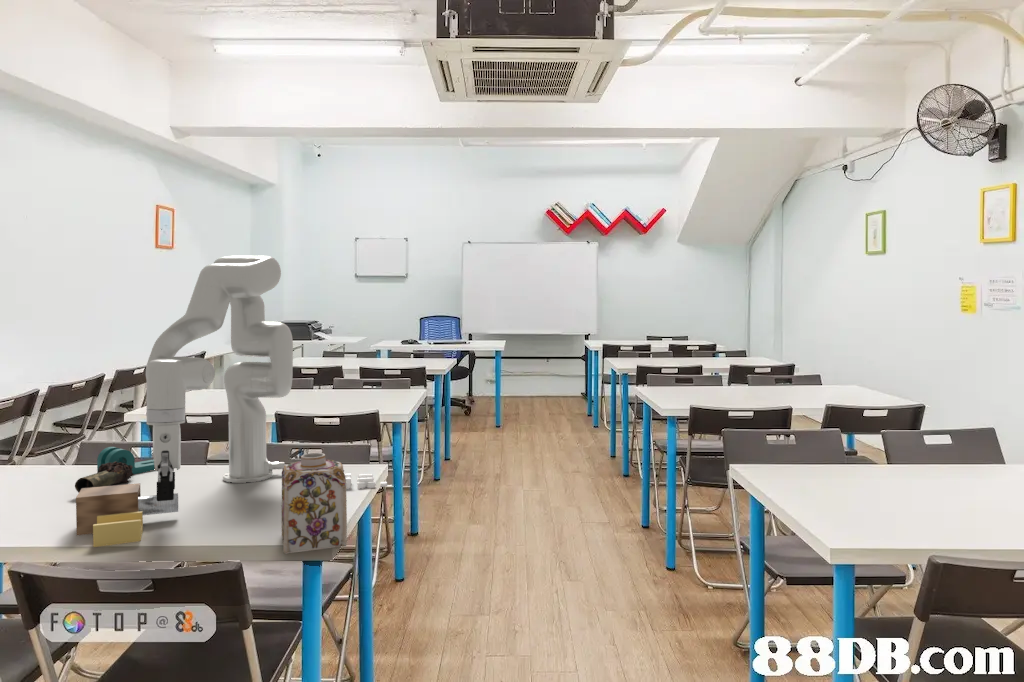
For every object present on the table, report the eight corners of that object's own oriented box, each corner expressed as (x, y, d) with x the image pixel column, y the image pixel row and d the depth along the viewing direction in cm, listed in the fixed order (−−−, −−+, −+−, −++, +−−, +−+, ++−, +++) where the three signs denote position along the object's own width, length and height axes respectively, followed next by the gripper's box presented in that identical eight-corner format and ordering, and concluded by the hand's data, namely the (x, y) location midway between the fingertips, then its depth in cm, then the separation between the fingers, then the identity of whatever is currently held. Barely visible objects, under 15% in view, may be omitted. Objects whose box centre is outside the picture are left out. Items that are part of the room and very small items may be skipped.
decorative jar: (347, 551, 132) (347, 458, 131) (283, 558, 128) (283, 463, 127) (340, 532, 143) (339, 446, 142) (281, 538, 139) (280, 450, 138)
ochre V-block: (142, 532, 142) (142, 511, 142) (140, 543, 136) (140, 520, 135) (98, 537, 139) (97, 515, 138) (93, 548, 132) (93, 525, 132)
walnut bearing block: (140, 519, 151) (140, 483, 151) (138, 529, 144) (137, 492, 143) (82, 525, 146) (81, 488, 146) (76, 536, 139) (75, 497, 139)
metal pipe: (93, 496, 167) (94, 473, 167) (67, 495, 167) (67, 472, 167) (137, 480, 185) (137, 459, 185) (113, 479, 185) (113, 458, 185)
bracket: (109, 480, 185) (108, 451, 185) (97, 477, 189) (96, 448, 189) (174, 468, 200) (174, 441, 200) (162, 465, 204) (161, 439, 204)
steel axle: (178, 507, 152) (178, 490, 152) (178, 514, 149) (177, 497, 148) (83, 517, 145) (82, 499, 144) (80, 525, 141) (80, 506, 140)
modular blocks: (329, 496, 172) (329, 480, 172) (329, 489, 179) (329, 474, 179) (408, 491, 178) (408, 476, 177) (405, 484, 184) (405, 470, 184)
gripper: (184, 420, 142) (184, 502, 143) (185, 411, 158) (185, 485, 158) (143, 422, 139) (143, 506, 139) (148, 412, 155) (148, 488, 155)
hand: (166, 495), depth 149 cm, fingers open, 9 cm apart
